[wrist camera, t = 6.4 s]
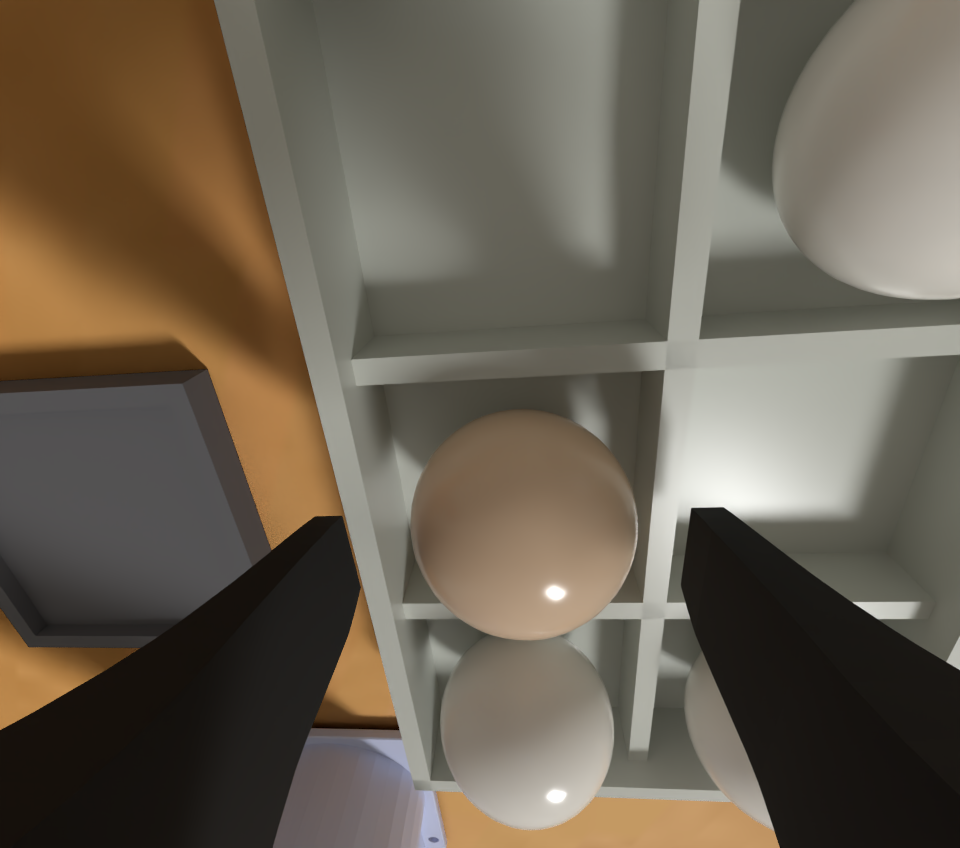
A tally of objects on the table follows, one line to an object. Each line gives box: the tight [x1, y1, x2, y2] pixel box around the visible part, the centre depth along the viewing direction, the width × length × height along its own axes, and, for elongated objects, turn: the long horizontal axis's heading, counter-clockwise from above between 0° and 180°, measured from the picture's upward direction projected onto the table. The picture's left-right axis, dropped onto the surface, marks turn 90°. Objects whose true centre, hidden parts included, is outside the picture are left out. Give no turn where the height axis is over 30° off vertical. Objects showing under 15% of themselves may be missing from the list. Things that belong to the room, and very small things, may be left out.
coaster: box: [0, 369, 271, 648], centre depth 15 cm, size 10×10×1 cm
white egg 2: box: [684, 651, 774, 831], centre depth 13 cm, size 5×5×5 cm
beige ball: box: [410, 409, 638, 641], centre depth 11 cm, size 5×5×5 cm
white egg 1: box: [440, 634, 614, 830], centre depth 14 cm, size 5×5×5 cm
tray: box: [214, 0, 960, 802], centre depth 12 cm, size 22×15×3 cm
